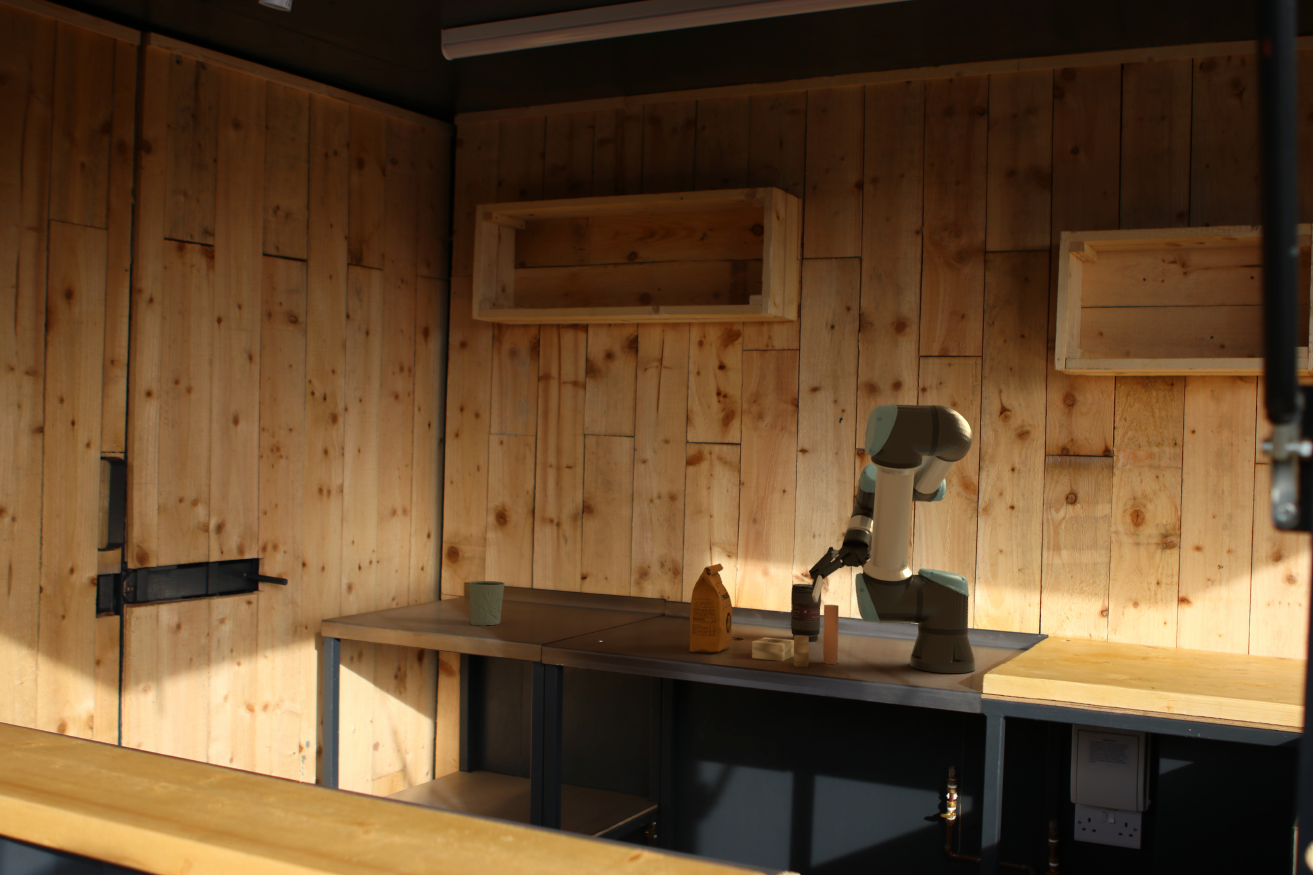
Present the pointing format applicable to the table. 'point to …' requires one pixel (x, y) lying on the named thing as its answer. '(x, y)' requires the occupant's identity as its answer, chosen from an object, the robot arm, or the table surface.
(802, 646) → the short dowel
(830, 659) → the long dowel
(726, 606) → the coffee package
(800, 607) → the camera lens
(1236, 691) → the table surface
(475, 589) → the green plant pot
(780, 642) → the collar block
